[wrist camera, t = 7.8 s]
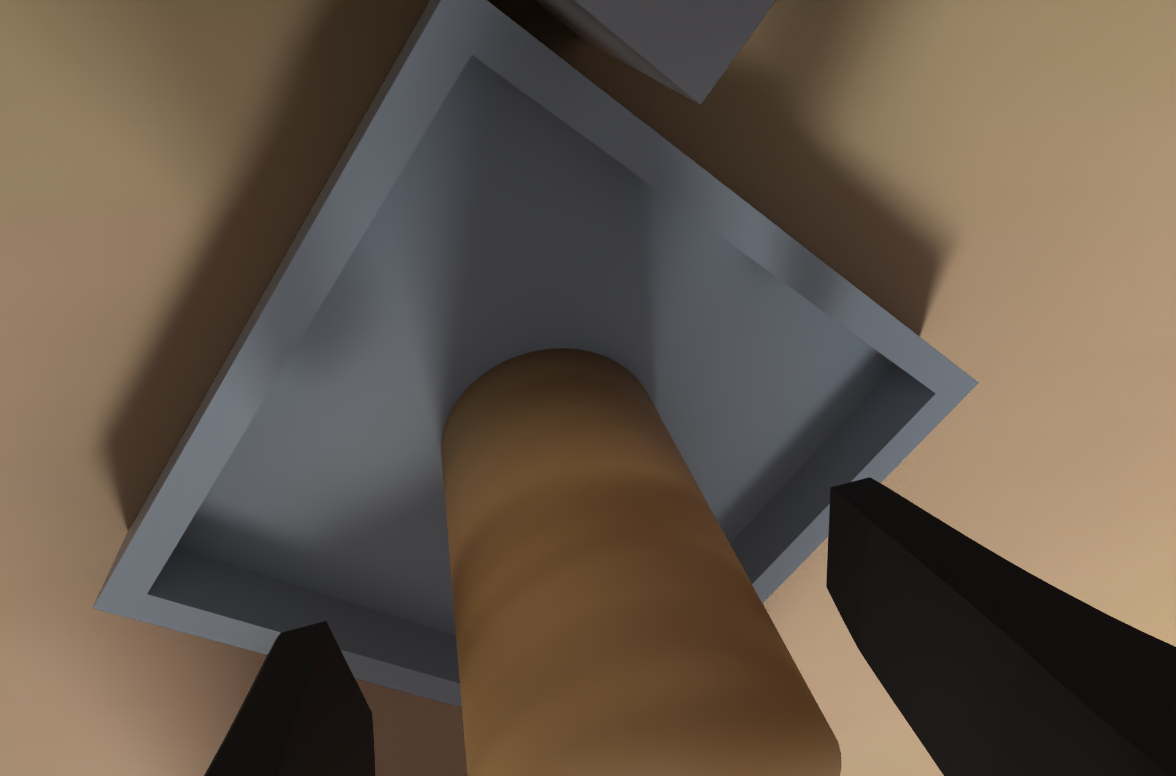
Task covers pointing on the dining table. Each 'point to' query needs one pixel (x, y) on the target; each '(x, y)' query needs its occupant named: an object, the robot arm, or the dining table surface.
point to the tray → (505, 357)
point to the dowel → (605, 592)
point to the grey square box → (666, 35)
